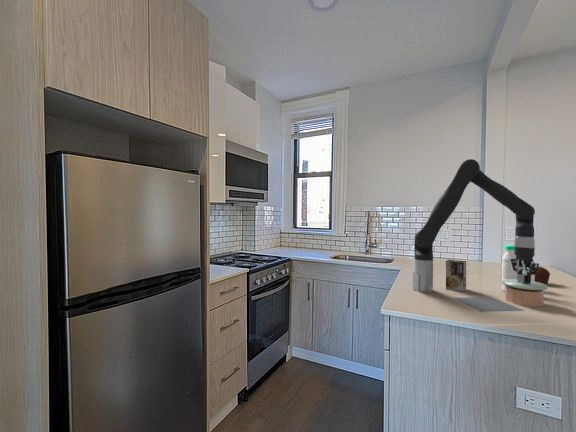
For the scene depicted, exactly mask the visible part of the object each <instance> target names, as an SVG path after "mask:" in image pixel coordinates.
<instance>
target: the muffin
mask: <svg viewBox="0 0 576 432" xmlns="http://www.w3.org/2000/svg"><path fill="white" fill-rule="evenodd" d="M550 276H551V272H550V271H549V270H548V269H546V268H544V267H543V266H538V269H537V271H536V274H535V282H539V283H543V284H545V285H547V286H548V285H549V284H548V283H549V281H550Z"/></svg>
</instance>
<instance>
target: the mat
mask: <svg viewBox="0 0 576 432" xmlns="http://www.w3.org/2000/svg"><path fill="white" fill-rule="evenodd" d="M453 299H454V300H456V301H458V302H461V303H462V304H464V305H466V306H469V307H470V308H472V309H475V310H477V311H479V312H524V311H526V310H524V309H523V308H520V307H516V306H514V305H512V304H509V303H507V302H504V301H502V300H499V299H497V298H495V297H492V296H480V297H479V296H474V297H473V296H471V297H470V296H469V297H468V296H467V297H465V296H464V297H453Z"/></svg>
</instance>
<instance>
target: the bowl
mask: <svg viewBox="0 0 576 432" xmlns="http://www.w3.org/2000/svg"><path fill="white" fill-rule="evenodd" d="M544 298H545V290H528V289H520V288H514V287H510V286H507V285H505V291H504V299H505V301H506V302H509V303H511V304H514V305H519V306H522V307H523V306H526V307H532V308H533V307H534V308H535V307H536V308H537V307H539V308H540V307H544V306H545V305H544V304H545V302H544V301H545V299H544Z"/></svg>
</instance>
